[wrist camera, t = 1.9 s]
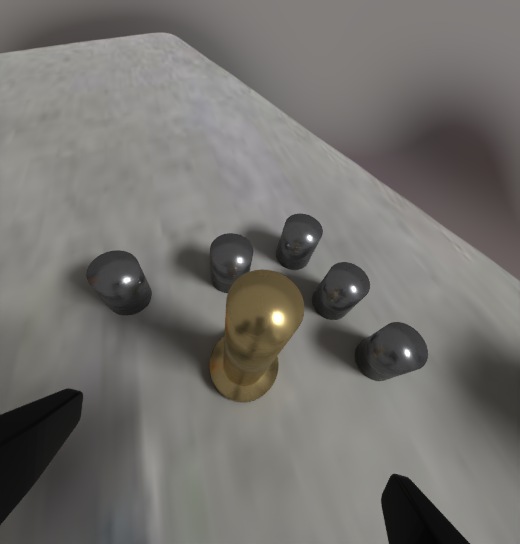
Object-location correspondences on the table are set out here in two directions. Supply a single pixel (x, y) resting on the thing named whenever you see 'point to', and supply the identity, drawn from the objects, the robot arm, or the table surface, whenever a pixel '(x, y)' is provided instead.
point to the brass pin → (255, 334)
